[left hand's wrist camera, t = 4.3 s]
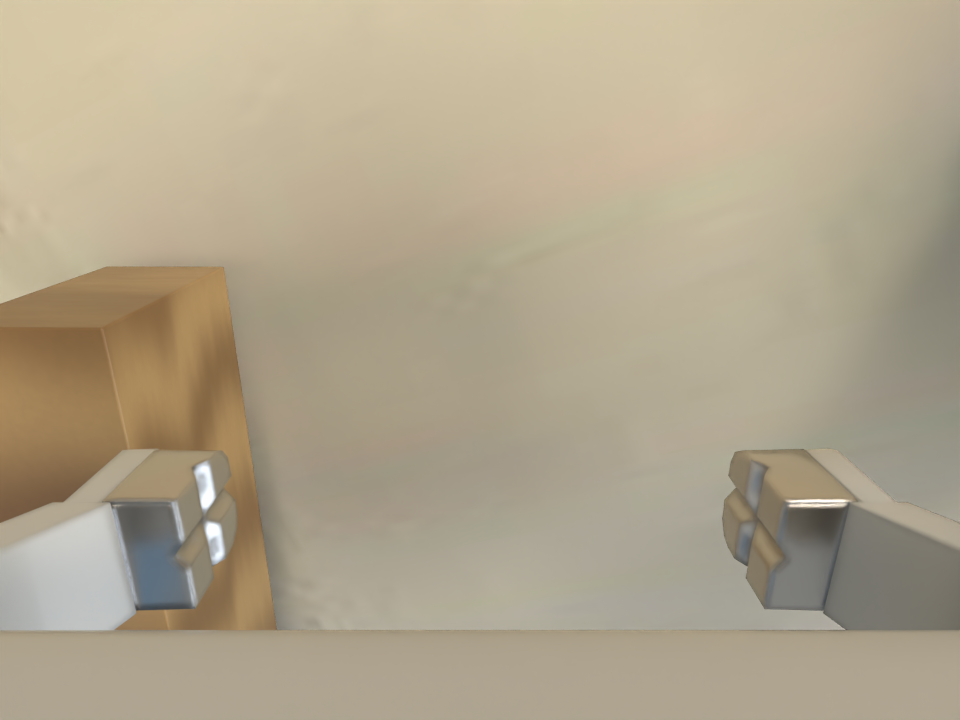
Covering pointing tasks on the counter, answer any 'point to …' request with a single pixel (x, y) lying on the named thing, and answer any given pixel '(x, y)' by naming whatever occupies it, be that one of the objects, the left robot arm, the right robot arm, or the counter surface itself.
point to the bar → (132, 408)
